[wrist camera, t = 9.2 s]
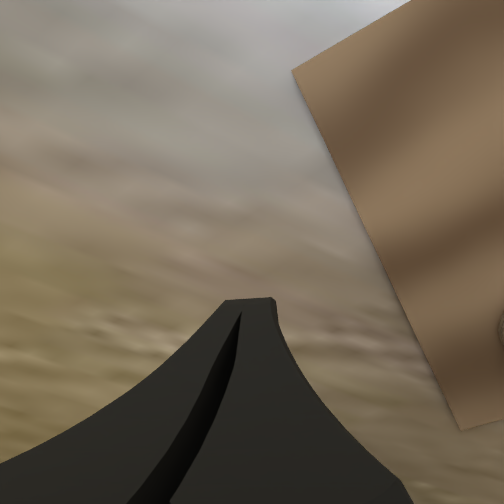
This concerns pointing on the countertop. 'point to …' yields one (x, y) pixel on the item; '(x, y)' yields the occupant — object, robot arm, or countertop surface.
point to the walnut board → (428, 177)
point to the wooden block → (501, 329)
